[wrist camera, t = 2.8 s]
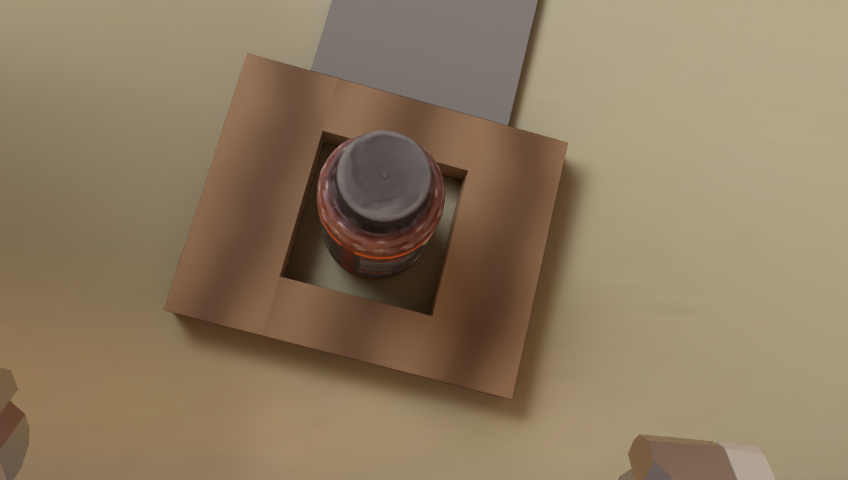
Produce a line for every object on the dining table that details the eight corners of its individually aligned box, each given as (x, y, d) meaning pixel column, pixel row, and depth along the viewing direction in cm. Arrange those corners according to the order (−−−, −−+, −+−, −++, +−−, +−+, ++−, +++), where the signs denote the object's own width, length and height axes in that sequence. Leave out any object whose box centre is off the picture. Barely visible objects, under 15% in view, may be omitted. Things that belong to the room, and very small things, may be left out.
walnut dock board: (173, 312, 38) (163, 310, 36) (252, 68, 41) (247, 53, 39) (503, 397, 39) (512, 399, 37) (557, 153, 42) (567, 142, 40)
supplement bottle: (446, 244, 40) (484, 198, 29) (359, 301, 39) (364, 275, 28) (390, 160, 40) (405, 83, 29) (302, 213, 39) (284, 153, 28)
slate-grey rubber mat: (311, 74, 41) (311, 70, 40) (364, -99, 43) (364, -105, 43) (505, 128, 42) (508, 125, 41) (547, -45, 44) (549, -50, 43)
